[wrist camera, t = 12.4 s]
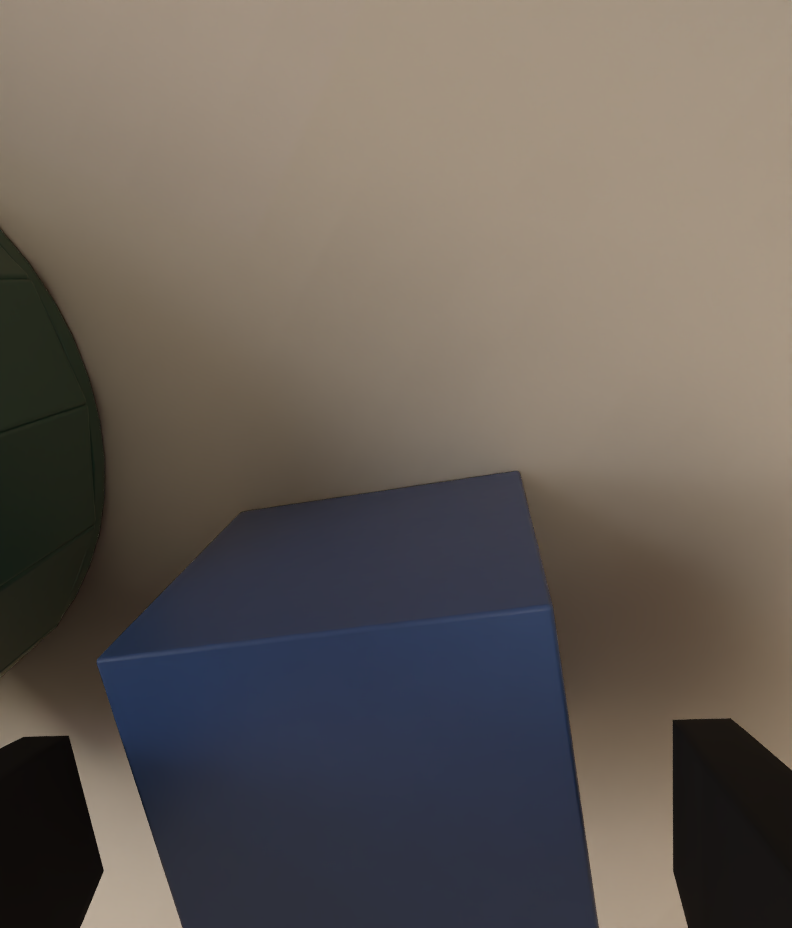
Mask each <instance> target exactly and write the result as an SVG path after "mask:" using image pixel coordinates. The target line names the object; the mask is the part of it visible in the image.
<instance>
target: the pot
mask: <svg viewBox="0 0 792 928" xmlns="http://www.w3.org/2000/svg"><path fill="white" fill-rule="evenodd" d="M103 503H104V452H103V444H102V436H101V428H100V420H99V416H98V412H97V408H96V404H95V400H94V396H93V392H92V388H91V384H90V380H89V378H88V375H87V372H86V370H85V367H84V365H83V362H82V359H81V357H80V354H79V351H78V349H77V346H76V344H75V341H74V339H73V337H72V335H71V333H70V331H69V329H68V327H67V325H66V323H65V321H64V319H63V318H62V316H61V314H60V312H59V310H58V308H57V306H56V304H55V302H54V300H53V299H52V297H51V296H50V294H49V293H48V291H47V290H46V288H45V287H44V285H43V284H42V282H41V281H40V279H39V278H38V276H37V275H36V273H35V272H34V270H33V269H32V267H31V266H30V264H29V263H28V262H27V260H26V259H25V258H24V257H23V256H22V254H21V253H20V252H19V251H18V250H17V249H16V247H15V246H14V245H13V244H12V243H11V241H10V240H9V239H8V238H7V237H6V235H5V234H4V233H3V232H2V231H1V230H0V677H2V676H3V675H4V674H5V673H6V672H7V671H8V670H9V669H10V668H11V667H12V666H14V665H15V664H16V663H17V662H18V661H19V660H20V659H21V658H22V657H23V656H25V655H26V654H27V653H28V652H29V651H30V650H32V649H33V648H34V647H35V646H36V645H37V644H38V643H39V642H40V641H41V640H42V639H43V638H44V637H45V636H46V635H48V634H49V633H50V632H51V631H52V630H53V629H54V628H55V627H56V626H57V625H58V623H59V621H60V620H61V618H62V616H63V614H64V613H65V611H66V610H67V608H68V607H69V605H70V604H71V602H72V601H73V599H74V598H75V596H76V594H77V592H78V590H79V588H80V586H81V584H82V581H83V579H84V577H85V575H86V573H87V571H88V569H89V566H90V563H91V560H92V556H93V553H94V549H95V546H96V542H97V539H98V536H99V531H100V524H101V517H102V510H103Z"/></svg>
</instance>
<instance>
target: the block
mask: <svg viewBox="0 0 792 928" xmlns="http://www.w3.org/2000/svg"><path fill="white" fill-rule="evenodd" d="M97 666H98V669H99V672H100V675H101V678H102V681H103V684H104V687H105V690H106V694H107V697H108V700H109V703H110V706H111V709H112V712H113V715H114V718H115V721H116V724H117V727H118V730H119V734H120V737H121V740H122V743H123V746H124V749H125V752H126V755H127V758H128V761H129V764H130V767H131V770H132V774H133V777H134V780H135V783H136V786H137V789H138V792H139V795H140V798H141V801H142V804H143V807H144V810H145V814H146V817H147V820H148V823H149V826H150V829H151V832H152V835H153V838H154V841H155V844H156V847H157V850H158V854H159V857H160V860H161V863H162V866H163V869H164V872H165V875H166V878H167V881H168V884H169V887H170V890H171V894H172V897H173V900H174V903H175V906H176V909H177V912H178V915H179V918H180V921H181V924H182V927H183V928H599V926H598V919H597V912H596V905H595V898H594V891H593V884H592V877H591V870H590V863H589V856H588V849H587V842H586V835H585V828H584V821H583V813H582V806H581V799H580V792H579V785H578V778H577V771H576V764H575V757H574V750H573V743H572V736H571V729H570V722H569V715H568V708H567V701H566V694H565V687H564V680H563V673H562V666H561V659H560V652H559V645H558V638H557V631H556V624H555V617H554V610H553V605H552V601H551V597H550V593H549V589H548V585H547V581H546V577H545V573H544V568H543V564H542V560H541V556H540V552H539V548H538V544H537V540H536V536H535V532H534V528H533V524H532V520H531V516H530V512H529V508H528V504H527V500H526V495H525V491H524V487H523V483H522V479H521V475H520V473H519V472H518V471H513V472H506V473H500V474H493V475H486V476H479V477H473V478H466V479H459V480H453V481H446V482H439V483H432V484H426V485H419V486H412V487H405V488H399V489H392V490H385V491H379V492H372V493H365V494H358V495H352V496H345V497H338V498H332V499H325V500H318V501H311V502H305V503H298V504H291V505H284V506H278V507H271V508H264V509H258V510H251V511H244V512H241V513H239V514H238V515H237V516H236V517H235V519H234V520H233V521H232V522H231V523H230V524H229V525H228V526H227V527H226V528H225V529H224V530H223V531H222V532H221V533H220V534H219V535H218V536H217V537H216V538H215V539H214V540H213V541H212V542H211V543H210V544H209V545H208V546H207V547H206V548H205V549H204V550H203V551H202V552H201V553H200V554H199V555H198V556H197V557H196V558H195V559H194V560H193V561H192V562H191V564H190V565H189V566H188V567H187V568H186V569H185V570H184V571H183V572H182V573H181V574H180V575H179V576H178V577H177V578H176V579H175V580H174V581H173V582H172V583H171V584H170V585H169V586H168V587H167V588H166V589H165V590H164V591H163V592H162V593H161V594H160V595H159V596H158V597H157V598H156V599H155V600H154V601H153V602H152V603H151V604H150V605H149V606H148V607H147V609H146V610H145V611H144V612H143V613H142V614H141V615H140V616H139V617H138V618H137V619H136V620H135V621H134V622H133V623H132V624H131V625H130V626H129V627H128V628H127V629H126V630H125V631H124V632H123V633H122V634H121V635H120V636H119V637H118V638H117V639H116V640H115V641H114V642H113V643H112V644H111V645H110V646H109V647H108V648H107V649H106V650H105V651H104V652H103V654H102V655H101V656H100V657H99V658H98V659H97Z"/></svg>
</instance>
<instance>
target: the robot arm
mask: <svg viewBox="0 0 792 928" xmlns="http://www.w3.org/2000/svg"><path fill="white" fill-rule="evenodd" d="M103 871H104V870H103V866H102V862H101V858H100V854H99V851H98V847H97V843H96V839H95V835H94V831H93V827H92V824H91V820H90V816H89V812H88V808H87V804H86V800H85V797H84V793H83V789H82V785H81V781H80V777H79V773H78V770H77V766H76V762H75V758H74V754H73V750H72V747H71V743H70V739H69V736H39V737H23V738H21V739H19V740H17V741H14V742H12V743H10V744H8V745H6V746H4V747H2V748H1V749H0V928H80V926H81V924H82V922H83V920H84V917H85V915H86V912H87V910H88V908H89V905H90V903H91V900H92V898H93V896H94V893H95V891H96V888H97V886H98V883H99V881H100V879H101V876H102V874H103ZM673 872H674V876H675V879H676V883H677V887H678V891H679V895H680V898H681V902H682V906H683V910H684V914H685V917H686V921H687V925H688V928H792V770H791V769H790V768H788V767H787V766H786V765H785V764H784V763H783V762H781V761H780V760H779V759H778V758H777V757H776V756H774V755H773V754H772V753H771V752H770V751H769V750H768V749H766V748H765V747H764V746H763V745H762V744H761V743H759V742H758V741H757V740H756V739H755V738H754V737H752V736H751V735H750V734H749V733H748V732H746V731H745V730H744V729H743V728H742V727H741V726H739V725H738V724H737V723H736V722H734V721H733V720H732V719H731V718H727V719H689V720H673Z"/></svg>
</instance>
